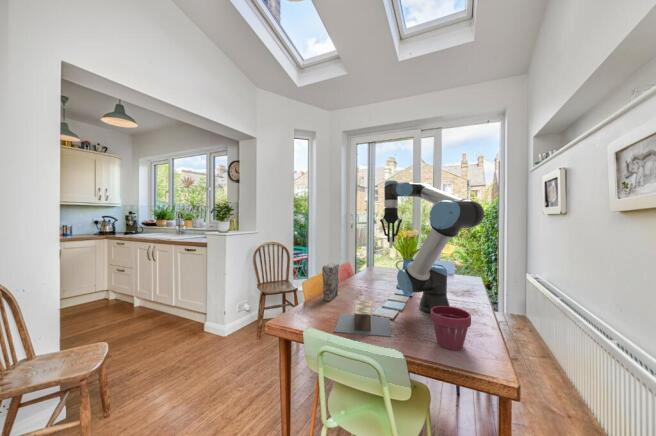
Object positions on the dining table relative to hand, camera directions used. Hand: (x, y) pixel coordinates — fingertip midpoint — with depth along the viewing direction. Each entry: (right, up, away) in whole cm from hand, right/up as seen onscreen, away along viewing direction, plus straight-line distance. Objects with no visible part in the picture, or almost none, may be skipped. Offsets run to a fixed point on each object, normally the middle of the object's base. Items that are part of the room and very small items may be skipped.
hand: (390, 247), depth 155 cm
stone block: (-35, -31, +4) cm, 47 cm away
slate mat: (-21, -31, -34) cm, 51 cm away
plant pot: (+11, -32, -52) cm, 62 cm away
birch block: (-19, -27, -24) cm, 40 cm away
